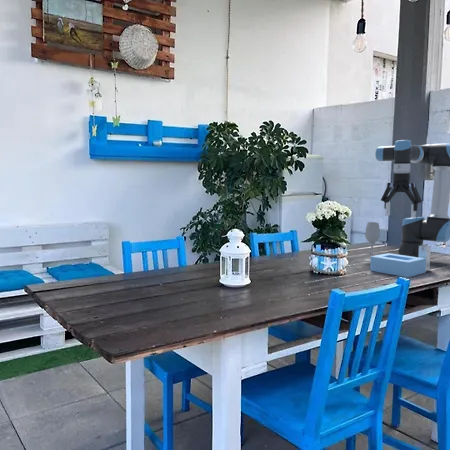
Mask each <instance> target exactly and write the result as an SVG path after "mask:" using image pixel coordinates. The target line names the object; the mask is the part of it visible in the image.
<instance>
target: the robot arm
mask: <svg viewBox="0 0 450 450" xmlns="http://www.w3.org/2000/svg"><path fill="white" fill-rule="evenodd" d="M375 159H376V160H377V161H378V162H393V172H394V173H393V176H392V178H393V180H392V181H393V182H387V183H386V184H387V185H386V189H385V191H384V193H383V195H382V197H381V198H380V201H381V202H384V210H385V216H386V217H389V216H391V202H390V201H391V199H392V198H394V196H395V195H396V194H397V193H405V195H406V196H407V197H408V198H409V200H410V201H411V203H412V204H411V209H410V217H406V218H403V219H402V222H401V223H402V224H401V244H400V246H399V247H398V248H399V249H398V252H397V254H398V255H405V256H412V257H418V254H419V246H422V244H424V241H426V242H427V241H428V242H434V243H435V242H437V243H446V242H447V243H448V241H450V216H449V214H448V213H449V203H450V143H449V142H447V143H445V142H443V143H427V144H422V145H421V144H420V145H417V144H412V140H410V139H399V140H396V141H395V142H394V145H387V146H386V145H385V146H384V145H383V146H378V147H377V148H376V149H375ZM411 163H413V164H417V165H418V164H419V165H425V166H426V165H427V166H432V167H431V168H432V169H433V171H434V176H433V185H432V186H433V187H432V196H431V207H430V214H428V215H427V216H426V217H427V218H426V219H425V217H424V216H417V217H416V214H417V211H418V204H421V203H423V200H422V198H421V196H420V193H419V191H418V189H417V183H415V182H412V183H411Z"/></svg>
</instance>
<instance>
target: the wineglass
mask: <svg viewBox="0 0 450 450" xmlns="http://www.w3.org/2000/svg"><path fill="white" fill-rule="evenodd" d="M364 234H365V235H364V236H365V239H366V241H367V242H368V243H369V244H370V248H371V249H370V250H371V251H370V257H369V258H366V259H364V261H365V262H369V263H370V262H371V256H373V249H374V248H373V247H374V244H376V243H377V242H378V241H379V240H380V237H381V232H380V223H379V222H373V221H371V222H367V223H366V227H365V233H364Z"/></svg>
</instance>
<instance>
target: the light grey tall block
mask: <svg viewBox="0 0 450 450" xmlns="http://www.w3.org/2000/svg"><path fill="white" fill-rule="evenodd" d="M431 249H432V248H431V245H428V243H423V244H422V246H419V254H418V258H425V259H426V269H425V272H428V271H430V266H431V265H430V264H431Z"/></svg>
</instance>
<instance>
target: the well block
mask: <svg viewBox="0 0 450 450" xmlns="http://www.w3.org/2000/svg"><path fill="white" fill-rule="evenodd" d="M370 258H371V262H369V263H370V269H369V271H372V272H376V273H377V272H378V273H383V274H388V275H395V276H399V277H405V278H410V277H416V276H417V275H418V274H419V275H421V274H422V273H423V274H425V273H426V271H425V269H426V259H425V258H418V257H412V256H405V255H398V253H397V254H395V253H391V252H387V253H383V254H382V253H381V254H376V255H372V256H371V255H370Z"/></svg>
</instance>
